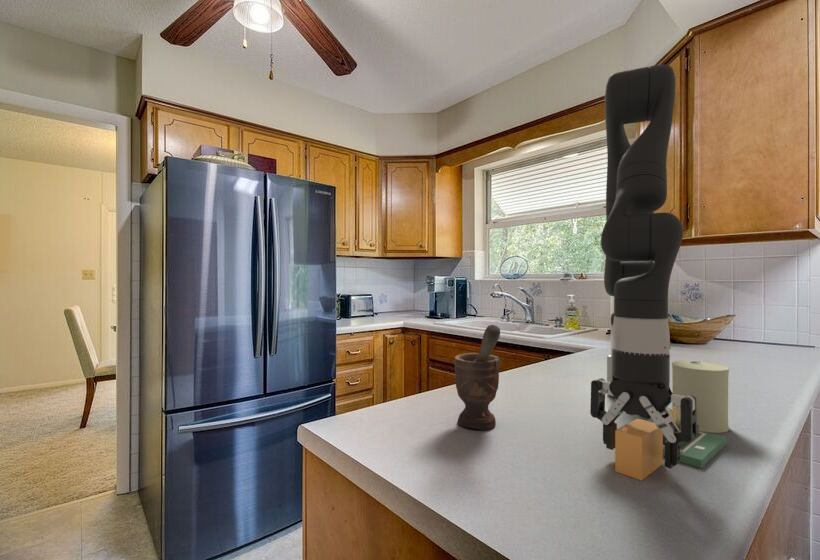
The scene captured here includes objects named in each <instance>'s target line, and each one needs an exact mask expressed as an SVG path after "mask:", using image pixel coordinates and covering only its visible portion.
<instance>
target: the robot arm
mask: <svg viewBox="0 0 820 560" xmlns="http://www.w3.org/2000/svg"><path fill="white" fill-rule="evenodd" d="M675 97H676V76H675V71H674V69H673V68H672V66H671V65H669V64H656V65H650V66H645V67H644V66H643V67H638V68H632V69H629V70H628V69H627V70H623V71H618V72H615V73H612V74H611V75H610V76H609V77H608V79H607V82H606V84H605V92H604V112H605V113H604V115H605V132H606V151H607V156H606V157H607V162H606V163H607V167H606V169H607V170H606V187H605V189H606V190H605V216H606V217H605V218H606V219H605V224H604V226H603V228H602V232H601V235H600V246H601V250H602V252H603V254H604V256H605V261H604V262H605V263H604V271H603V273H604V274H603V282H604V285H603V286H604V290H605V292H606V293H607V295H608V296H611V297H613V313H611V314H610V354H609V355H607V356H606V380H605V378H602V377H600V378H597V379H594V380H593V379H592V380H591V382H590V409H589V410H590V415H591V417H592V418H593V419H595V418H596V419H598V420H599V421H600V422H601V424H602V441H603V444H605V445H606V449H608V450H610V451H611V450H614V449H615V430H617V429H618V423H616V421H617V420H618V418H619V417H620V416H621V415H622V414H623V413H625V414H626V415H629V416H639V417H640V418H643V419H645V420H648V419H652V420H653V421H654V423H655V424H656V426H657V427H658V428H660V429H661V431H662V432H663V434H664V435H665V437H666V438H667V440H666V441H665V457H664V467H665V468H668V469H673V468H674V467H675V466H677V465H679V463H681V462H680V443H681V442H690V441H692V439H694V438H696V437H697V405H696V398H695V397H694V396H693V395H688V396H682V395H676V394H673V391H672V389H671V387H670V382H671V381H670V380H671V378H670V377H671V376H670V374H671V373H670V371H671V369H670V367H671V366H670V363H671V360H670V359H671V358H670V357H671V354H670V352H671V351H670V350H671V348H672V347H671V346H672V345H671V340H670V339H671V337H670V335H671V334H670V326H669V319H668V318H669V289H670V288H669V287H670V280H671V276H672V271H673V269H674V268H673V267H674V265H675V262H676V259H677V256H678V254H679V251H680V247H681V245H682V243H683V237H684V227H683V225H682V224H683V223H682V222H681V220H680V219H679V218H678V217H677V215H676V214H673V213H672V212H671V213H670V212H656V211H658V210H660V209H661V208H662V207H663V206H664V205H665V203H666V201H667V197H668V177H667V176H668V175H667V173H668V172H667V170H668V169H667V162H668V161H667V159H668V157H667V156H668V149H669V142H670V138H671V132H672V124H673V118H674V117H673V116H674V106H675V99H676V98H675ZM645 122H649V123H648V125H647V126H646V128H645V129H644V130H643V131H642V132H641V134H640V135H639V136H638V137H637V138H636V139H635V140H634V141H633V143H630V142H629V139H628V136H627V134H626V129H625V125H628V124H636V123H645ZM655 212H656V213H655ZM606 396H611V397H612V398H614V399H615V402H613V404H612V405H611V406H610V407H608V408H609V409H608V411H606ZM672 402H673V403H674V404H675V405H676V408H677V410H678V411H680V412H681V430H679V429H678V427H677V426H676V424H675V423H674V419H673V417H672V416H671V414H670V413H669V409H668V406H670V404H671V403H672Z"/></svg>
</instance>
